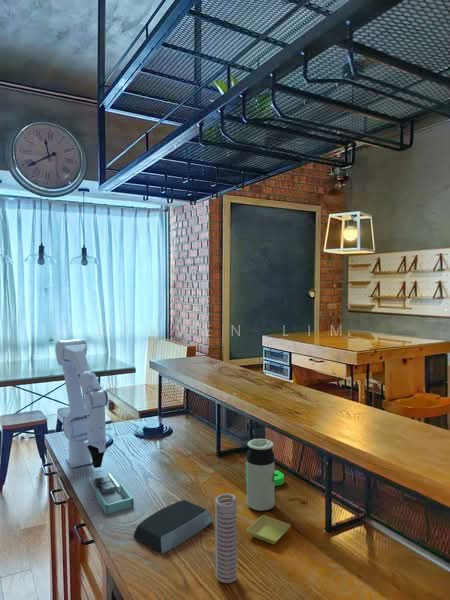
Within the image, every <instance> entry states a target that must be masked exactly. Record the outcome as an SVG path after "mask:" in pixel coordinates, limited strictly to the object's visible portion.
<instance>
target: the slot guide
mask: <svg viewBox="0 0 450 600" xmlns="http://www.w3.org/2000/svg"><path fill="white" fill-rule="evenodd" d="M107 476H108V478H109V479H110V480H111V482H112V483H113V485H114V486H115V491H116V492H118V493H119V492H120V484H118V482H117V480H115V478H114V477H113V475H112V474H111V473H110V472H109V473H107ZM88 479H89V480H88V481H89V484H90V485H91V487H92V488H93V490H95V491H94V492H95V493H96V490H99V489H98V487H97V486H96V484H95V480H94V479H93V478H92V477H88ZM99 491H100V490H99Z"/></svg>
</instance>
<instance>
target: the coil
mask: <svg viewBox="0 0 450 600" xmlns="http://www.w3.org/2000/svg"><path fill="white" fill-rule="evenodd" d="M237 505H238V504H237V496H236V495H235V494H233V493H232V494H231V493H222V494H219V495H217V496H216V497H215V500H214V507H215V509H214V510H215V511H214V512H215V514H214V515H215V516H214V517H215V519H214V520H215V524H214V525H215V531H214V532H215V541H214V542H215V577H216V579H217V580H218V581H219V582H222V583H223V584H224V583H225V584H230V583H233V582H235V581H236V580H237V578H238V576H237V573H238V570H237V568H238V565H237V564H238V561H237V559H238V555H237V554H238V552H237V550H238V548H237V546H238V544H237V543H238V542H237V540H238V539H237V536H238V535H237V530H238V529H237V527H238V526H237V523H238V521H237V518H238V517H237V514H238V512H237V508H238V507H237Z"/></svg>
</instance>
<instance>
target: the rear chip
mask: <svg viewBox="0 0 450 600" xmlns="http://www.w3.org/2000/svg"><path fill="white" fill-rule="evenodd" d="M94 482H95V484H96V486H97V487H98V488H99V484H103V483H107V482H111V480H110V479H109V478H108V475H105V476H101V477H97V478H95V479H94Z"/></svg>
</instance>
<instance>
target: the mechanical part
mask: <svg viewBox="0 0 450 600" xmlns="http://www.w3.org/2000/svg"><path fill="white" fill-rule="evenodd" d="M284 483H285V476H284V473H283V472H281V471H280V470H278V469H276V470H275V469H274V487H278V486H282V485H284ZM245 484H246V485H247V462H246V463H245Z"/></svg>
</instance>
